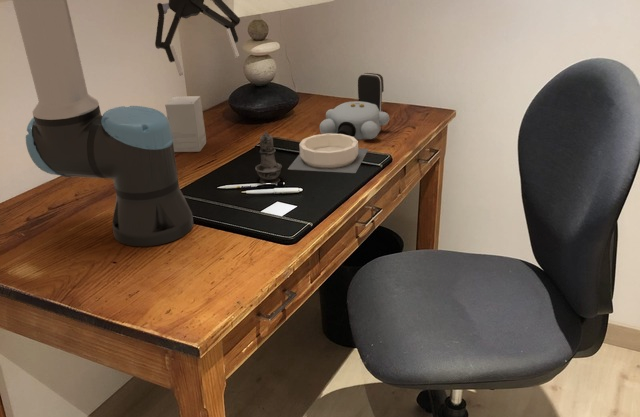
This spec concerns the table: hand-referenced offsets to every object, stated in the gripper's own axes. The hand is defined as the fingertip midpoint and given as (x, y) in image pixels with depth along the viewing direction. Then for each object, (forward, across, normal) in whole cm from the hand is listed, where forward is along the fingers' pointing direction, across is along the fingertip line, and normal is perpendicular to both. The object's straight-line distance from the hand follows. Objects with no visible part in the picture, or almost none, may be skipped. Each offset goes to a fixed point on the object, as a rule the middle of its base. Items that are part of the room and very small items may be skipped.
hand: (209, 65), depth 155 cm
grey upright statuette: (+30, -3, +10) cm, 32 cm away
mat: (+30, -19, +2) cm, 36 cm away
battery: (+22, -42, -28) cm, 56 cm away
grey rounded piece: (+26, -31, -13) cm, 43 cm away
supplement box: (+16, +10, -18) cm, 26 cm away
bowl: (+29, -19, +2) cm, 35 cm away
